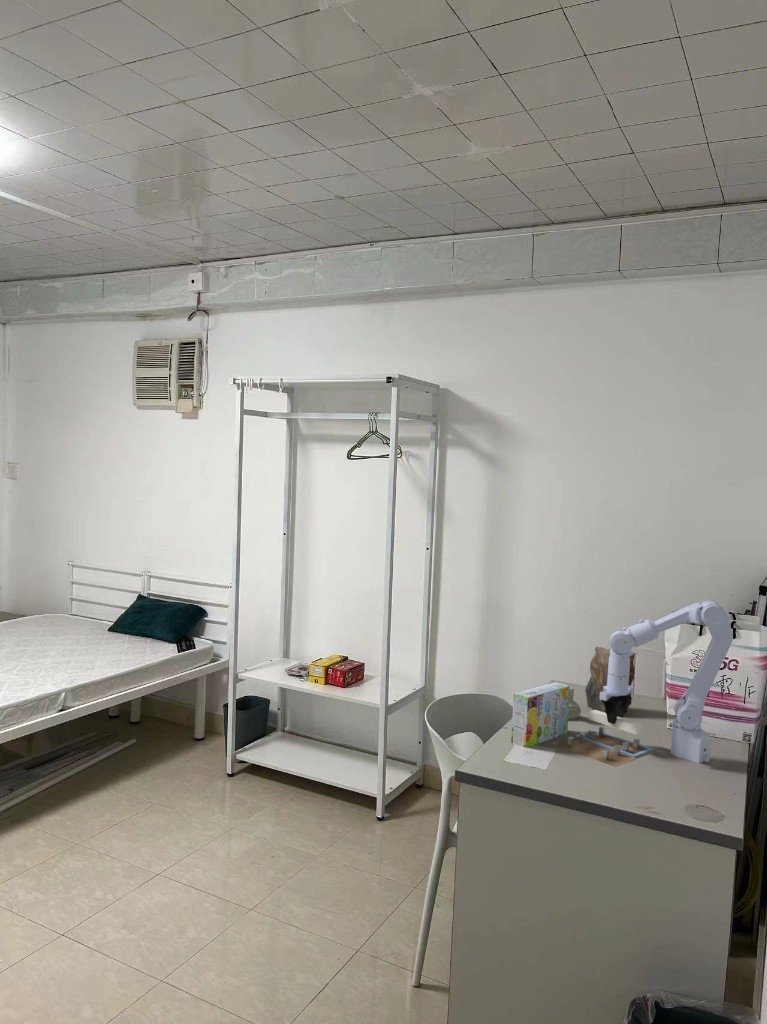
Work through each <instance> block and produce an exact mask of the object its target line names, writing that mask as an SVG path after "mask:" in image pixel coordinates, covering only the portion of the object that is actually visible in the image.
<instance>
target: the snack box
mask: <svg viewBox="0 0 767 1024" xmlns="http://www.w3.org/2000/svg"><path fill="white" fill-rule="evenodd" d="M570 686H571V685H568V684H566V683H565V684H564V683H560V682H557V681H555V682H551V683H548V684H544V685H540V686H537V687H533V688H528V689H525V690H522V691H517V692H514V693H513V698H512V718H511V719H512V721H511V737H510V738H511V739H510V740H511V741H510V743H511V744H515V745H518V746H520V747H523V748H529V747H532V746H536V745H538V744H541V743H543V742H546V741H549V740H552V739H554V738H558V737H560V736H563V735H566V734H568V731H569V730H568V729H569V727H568V726H569V719H568V712H569V692H570Z"/></svg>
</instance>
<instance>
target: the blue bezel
mask: <svg viewBox="0 0 767 1024" xmlns="http://www.w3.org/2000/svg"><path fill="white" fill-rule="evenodd" d="M588 731H589V730H588ZM588 731H585V732H582V733H583V734H586V735H588ZM591 731H594V733H597V734H599V730H597V729H591ZM579 734H580V733H578V734H575V735H573V736H574V737H575V738H578V739H579ZM605 736H606V737H609V738H613V739H616V740H619V741H622V742H628V743H629V744H631V745H633V742H634V741H630V740H627V739H624V738H621V737H619V736H615V735H612V734H609V733H606V732H605ZM585 741H587V742H590V743H593V744H596V745H598V746H601V747H604V748H607V749H610V750H613V751H614V747H611V746H608V745H605V744H602V743H599V742H596V741H593V740H590V739H587V738H585ZM639 747H640V748H643V749H646V750H643V751H641V752H638V753H635V754H631V753H628V752H625V751H622V750H620V753H622V754H625V755H627V756H630V757H633V758H636V757H638V756H641V755H644V754H646V753H649V752H652V751H653V750H654V748H652V747H648V746H646V745H643V744H640V745H639Z"/></svg>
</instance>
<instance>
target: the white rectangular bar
mask: <svg viewBox="0 0 767 1024" xmlns="http://www.w3.org/2000/svg"><path fill="white" fill-rule="evenodd" d="M588 714H589V716H588V719H589V720H590V721H592V722H596V723H600V724H602V725H606V726H608V727H611V728H614V729H618V730H621V731H623V732H627V733H630V734H633V735H639V734H642V733H643V723H640V722H636V721H633V720H630V719H627V718H624V717H623V718H620V717H617V720H616V723H615V724H613V723H609V722H608V720H607V715H606V713H604V712H601V711H598V710H592V709H591V710H589V713H588Z"/></svg>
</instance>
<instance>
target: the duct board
mask: <svg viewBox="0 0 767 1024" xmlns="http://www.w3.org/2000/svg"><path fill="white" fill-rule="evenodd" d="M572 737H573V738H574V747H568V746H567V744H568V737H567V738H564V739H560V740H557V741H555V742H551V743H550V744H551V745H554V746H556V747H560V748H561V749H565V750H567V751H569V752H573V753H576V754H578V755H581V756H584V757H587V758H590V759H592V760H596V761H598V762H601V763H603V764H607V765H609V766H612V767H614V768H616V767H618V766H621V765H624V764H627V763H629V762H632V761H634V760H637V759H639V758H642V757H644V756H647V755H650V754H652V753H655V752H656V750H653V751H652V752H649V753H646V754H644V755H641V756H638V757H636V758H633V757H630V756H627V755H625V754H622V753H620V755H619V756H616V755H614V751H613V750H610V749H608V750H609V759H608V760H604V759H602V757H603V749H607V748H604V747H601V746H598V745H596V744H593V743H590V742H587V741H585V743H584V744H582V743H579V739H578V738H575V737H574V735H573V736H572ZM585 738H587V739H588V735H586V736H585ZM593 741H596V742H599V743H602V744H605V745H608V746H611V747H614V746H615V745H619V746H621V750H623V742H622V741H619V740H616V739H613V738H609V737H606V736H604V737H600V736H599V734H597V733H594V740H593ZM643 750H646V749H643V748H640V747H639V748H638V749H636V748H633V745H631V744H629V752H628V753H631V754H635V753H638V752H641V751H643Z"/></svg>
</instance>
